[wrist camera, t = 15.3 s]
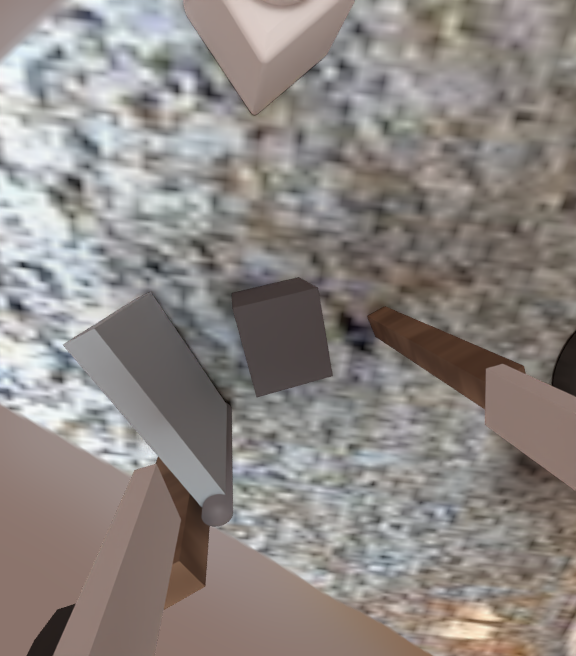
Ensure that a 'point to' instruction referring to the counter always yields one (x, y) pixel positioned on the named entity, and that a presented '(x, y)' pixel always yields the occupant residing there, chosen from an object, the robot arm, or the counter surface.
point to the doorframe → (402, 335)
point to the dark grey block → (282, 334)
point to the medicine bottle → (267, 40)
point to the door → (164, 399)
